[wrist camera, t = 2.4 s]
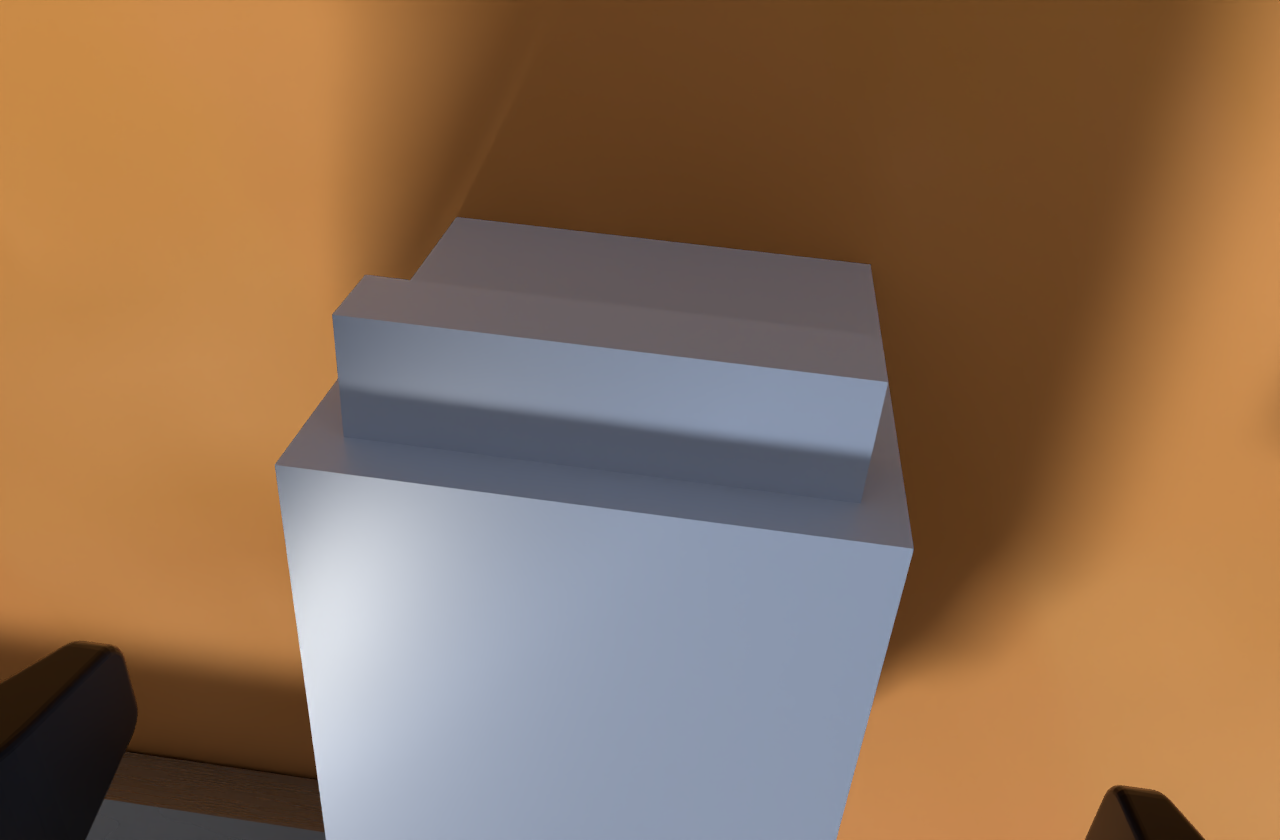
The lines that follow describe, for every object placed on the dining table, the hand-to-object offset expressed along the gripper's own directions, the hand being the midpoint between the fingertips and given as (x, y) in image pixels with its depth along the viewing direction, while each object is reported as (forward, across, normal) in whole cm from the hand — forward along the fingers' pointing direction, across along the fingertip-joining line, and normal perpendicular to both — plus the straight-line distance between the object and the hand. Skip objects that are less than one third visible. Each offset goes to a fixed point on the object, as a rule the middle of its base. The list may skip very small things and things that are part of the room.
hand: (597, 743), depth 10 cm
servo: (+3, 0, 0) cm, 3 cm away
